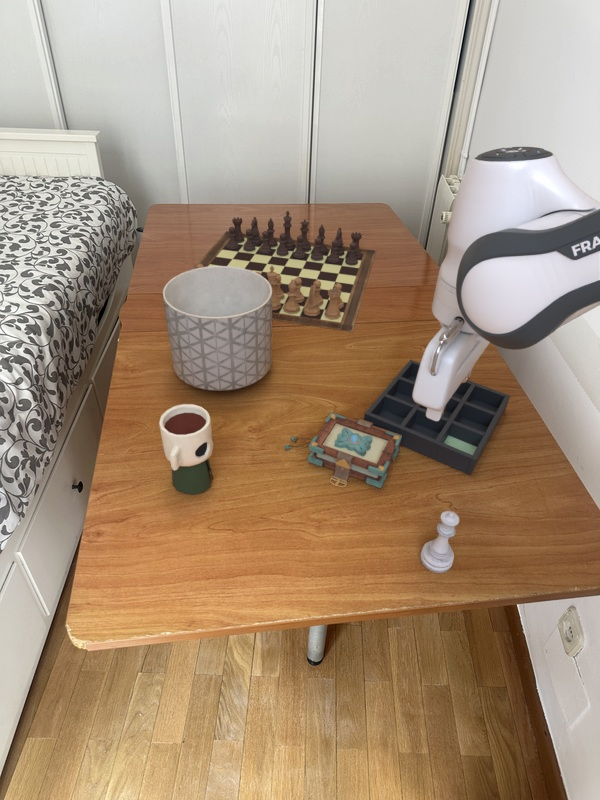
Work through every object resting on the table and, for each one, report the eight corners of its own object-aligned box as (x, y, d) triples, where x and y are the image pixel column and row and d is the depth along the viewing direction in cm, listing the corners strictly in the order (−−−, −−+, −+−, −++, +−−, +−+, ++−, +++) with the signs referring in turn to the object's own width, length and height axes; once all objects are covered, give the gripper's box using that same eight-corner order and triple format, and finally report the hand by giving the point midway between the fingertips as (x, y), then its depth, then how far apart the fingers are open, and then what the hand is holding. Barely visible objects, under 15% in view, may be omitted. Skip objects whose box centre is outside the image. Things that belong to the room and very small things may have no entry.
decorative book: (307, 415, 97) (309, 394, 94) (401, 447, 91) (406, 425, 88) (273, 463, 87) (273, 441, 84) (375, 502, 82) (380, 480, 79)
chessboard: (162, 302, 126) (156, 261, 119) (226, 231, 160) (224, 195, 153) (352, 332, 119) (357, 289, 112) (376, 250, 153) (381, 214, 147)
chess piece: (453, 551, 76) (470, 505, 69) (450, 577, 72) (468, 531, 66) (422, 542, 76) (436, 496, 70) (417, 568, 73) (432, 522, 67)
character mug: (202, 513, 79) (195, 450, 71) (157, 504, 80) (144, 441, 72) (225, 461, 87) (221, 399, 79) (184, 453, 88) (175, 392, 80)
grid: (505, 410, 100) (510, 395, 98) (470, 475, 87) (476, 460, 85) (407, 374, 108) (410, 359, 105) (362, 428, 95) (364, 413, 92)
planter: (272, 403, 99) (273, 317, 88) (168, 404, 98) (154, 317, 86) (271, 345, 114) (271, 266, 102) (180, 345, 112) (170, 265, 101)
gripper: (469, 352, 52) (441, 453, 61) (526, 276, 66) (496, 368, 74) (409, 332, 55) (390, 432, 64) (476, 262, 68) (452, 353, 77)
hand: (448, 396), depth 69 cm, fingers open, 8 cm apart
